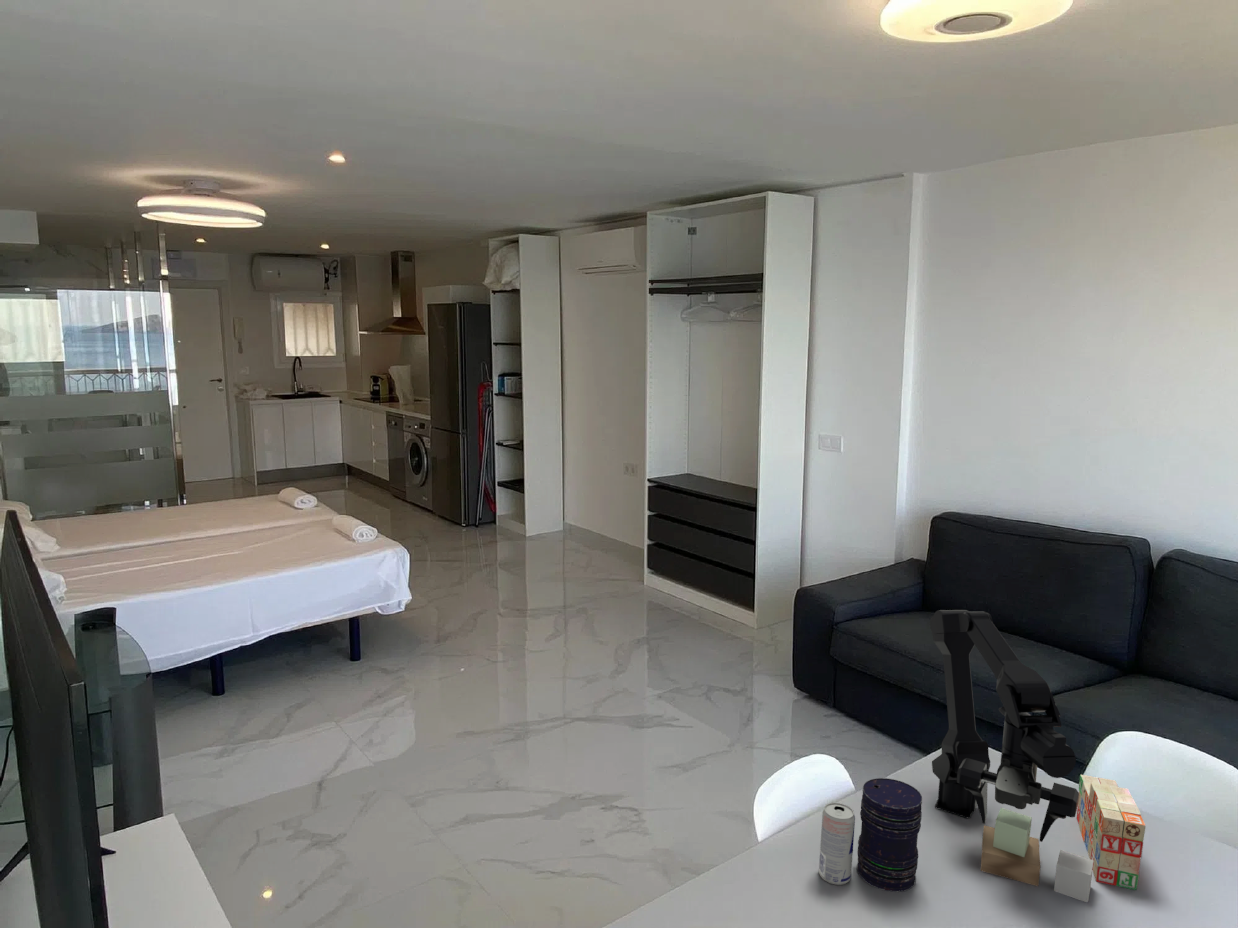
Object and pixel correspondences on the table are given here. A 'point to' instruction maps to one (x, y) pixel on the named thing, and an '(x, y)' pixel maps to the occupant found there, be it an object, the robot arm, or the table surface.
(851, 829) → the energy drink
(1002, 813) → the sage cube
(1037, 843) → the walnut block
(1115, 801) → the stack of blocks
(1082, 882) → the grey cube
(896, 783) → the storage jar
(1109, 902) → the table surface
